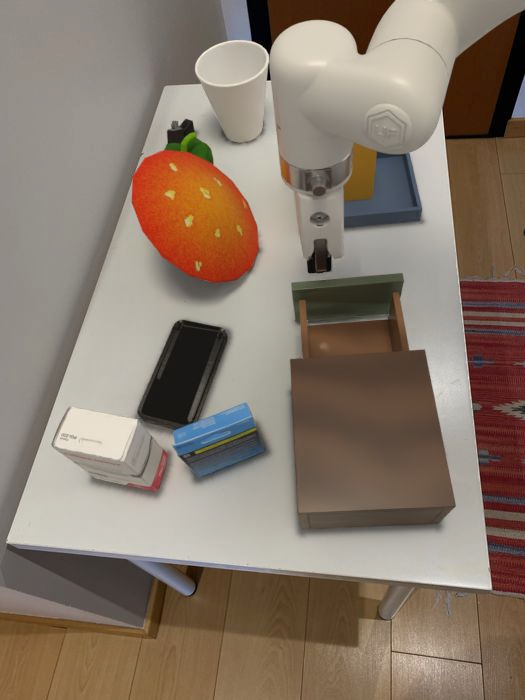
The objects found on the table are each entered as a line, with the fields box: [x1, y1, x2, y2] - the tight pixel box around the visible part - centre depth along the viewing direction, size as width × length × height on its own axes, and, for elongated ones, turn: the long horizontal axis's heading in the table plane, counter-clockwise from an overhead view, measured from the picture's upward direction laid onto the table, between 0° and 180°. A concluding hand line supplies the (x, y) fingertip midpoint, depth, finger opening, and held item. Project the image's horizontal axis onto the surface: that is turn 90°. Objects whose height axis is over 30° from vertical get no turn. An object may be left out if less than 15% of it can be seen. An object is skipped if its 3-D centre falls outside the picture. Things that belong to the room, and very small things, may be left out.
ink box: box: [50, 406, 169, 492], centre depth 58 cm, size 9×5×12 cm, turn 77°
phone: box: [136, 319, 229, 430], centre depth 68 cm, size 8×1×15 cm
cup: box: [194, 39, 270, 144], centre depth 85 cm, size 12×12×12 cm
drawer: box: [290, 272, 410, 358], centre depth 62 cm, size 17×14×7 cm
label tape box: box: [170, 401, 266, 478], centre depth 57 cm, size 9×4×12 cm, turn 110°
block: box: [343, 143, 377, 202], centre depth 75 cm, size 4×4×12 cm
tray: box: [344, 151, 423, 229], centre depth 79 cm, size 17×14×2 cm
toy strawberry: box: [131, 149, 260, 284], centre depth 72 cm, size 15×21×15 cm
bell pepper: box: [163, 131, 215, 166], centre depth 80 cm, size 8×8×10 cm
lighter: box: [166, 118, 196, 145], centre depth 89 cm, size 8×2×5 cm
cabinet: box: [289, 348, 457, 531], centre depth 56 cm, size 17×15×9 cm
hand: (319, 268), depth 68 cm, fingers closed
